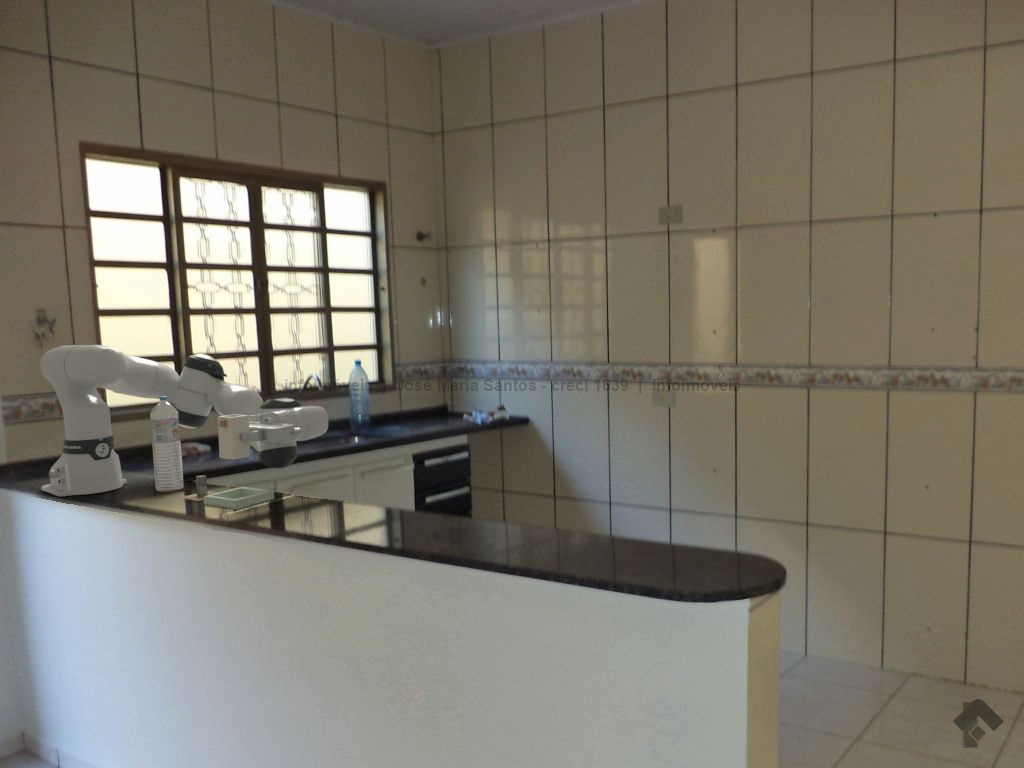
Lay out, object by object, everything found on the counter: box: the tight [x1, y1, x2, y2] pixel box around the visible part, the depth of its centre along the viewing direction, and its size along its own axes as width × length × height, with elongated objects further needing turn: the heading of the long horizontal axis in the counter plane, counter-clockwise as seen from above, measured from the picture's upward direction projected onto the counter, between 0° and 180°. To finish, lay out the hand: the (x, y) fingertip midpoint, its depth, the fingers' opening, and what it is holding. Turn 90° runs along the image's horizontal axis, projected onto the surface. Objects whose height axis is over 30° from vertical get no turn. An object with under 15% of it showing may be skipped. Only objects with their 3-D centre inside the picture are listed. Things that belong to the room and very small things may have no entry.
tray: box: [203, 486, 275, 512], centre depth 202 cm, size 11×11×2 cm
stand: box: [179, 475, 216, 502], centre depth 209 cm, size 8×8×6 cm
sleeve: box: [217, 414, 251, 461], centre depth 200 cm, size 5×6×10 cm
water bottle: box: [149, 396, 185, 493], centre depth 219 cm, size 7×7×25 cm
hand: (232, 436), depth 200 cm, fingers closed on sleeve, 5 cm apart
